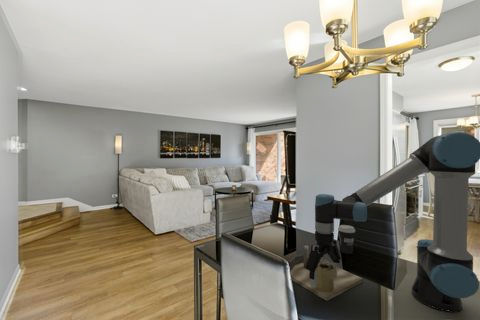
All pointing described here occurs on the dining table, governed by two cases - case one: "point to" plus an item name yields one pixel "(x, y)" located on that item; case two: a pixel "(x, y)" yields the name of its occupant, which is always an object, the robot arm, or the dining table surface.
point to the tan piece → (325, 277)
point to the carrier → (303, 279)
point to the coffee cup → (346, 238)
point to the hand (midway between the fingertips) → (323, 281)
